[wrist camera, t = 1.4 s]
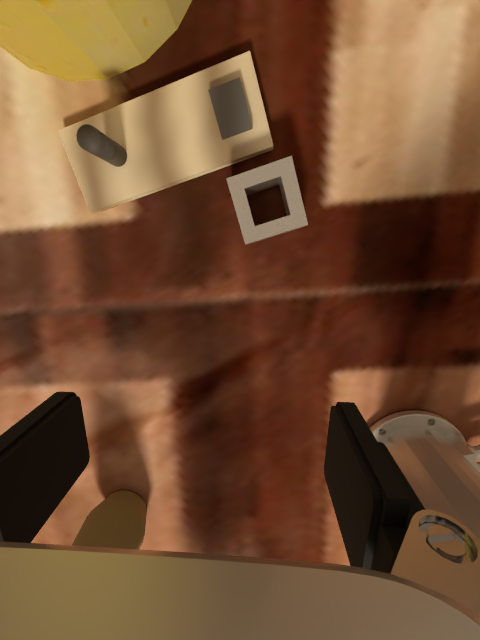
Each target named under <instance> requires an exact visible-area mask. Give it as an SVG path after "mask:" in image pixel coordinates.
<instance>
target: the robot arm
mask: <svg viewBox="0 0 480 640" xmlns="http://www.w3.org/2000/svg"><path fill="white" fill-rule="evenodd" d="M89 457H90V456H89V449H88V443H87V437H86V431H85V424H84V418H83V412H82V406H81V400H80V398H79V397H78V396H76V394H75V393H74V392H56V393H54V394H53V395H52V396H51V397H49V398H48V399H47V400H45V401H44V402H43V403H42V404H40V405H39V406H38V407H36V408H35V409H34V410H33V411H31V412H30V413H29V414H28V415H26V416H25V417H24V418H22V419H21V420H20V421H19V422H17V423H16V424H15V425H13V426H12V427H11V428H10V429H8V430H7V431H6V432H4V433H3V434H2V435H1V436H0V640H480V462H478V458H480V445H478V446H473V447H472V446H471V445H468V444H466V441H465V439H464V437H463V436H462V434H461V432H460V431H459V430H458V429H457V428H456V427H455V426H454V425H453V424H451V423H450V422H449V421H448V420H446V419H445V418H443V417H441V416H439V415H437V414H434V413H430V412H427V411H419V410H411V411H402V412H397V413H394V414H391V415H389V416H386V417H384V418H383V419H381V420H379V421H377V422H376V423H375V424H374V425H372V426H371V427H370V428H369V427H368V425H367V423H366V422H365V420H364V418H363V417H362V415H361V413H360V412H359V410H358V408H357V406H356V405H355V404H354V403H350V402H337V404H336V406H332V407H331V411H330V420H329V429H328V438H327V447H326V456H325V464H324V474H325V479H326V482H327V486H328V489H329V493H330V496H331V500H332V503H333V506H334V510H335V513H336V517H337V520H338V524H339V527H340V531H341V534H342V538H343V541H344V544H345V548H346V551H347V555H348V558H349V562H350V565H351V566H346V565H339V564H330V563H319V562H307V561H296V560H285V559H273V558H258V557H244V556H229V555H215V554H200V553H185V552H170V551H154V550H138V549H122V548H106V547H89V546H72V545H54V544H36V543H31V541H32V540H33V539H34V537H35V536H36V535H37V533H38V532H39V530H40V529H41V528H42V526H43V525H44V524H45V522H46V521H47V520H48V518H49V517H50V515H51V514H52V513H53V511H54V510H55V509H56V507H57V506H58V505H59V503H60V502H61V500H62V499H63V498H64V496H65V495H66V494H67V492H68V491H69V490H70V488H71V487H72V486H73V484H74V483H75V481H76V480H77V479H78V477H79V476H80V475H81V473H82V472H83V471H84V469H85V468H86V466H87V465H88V462H89Z"/></svg>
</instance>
